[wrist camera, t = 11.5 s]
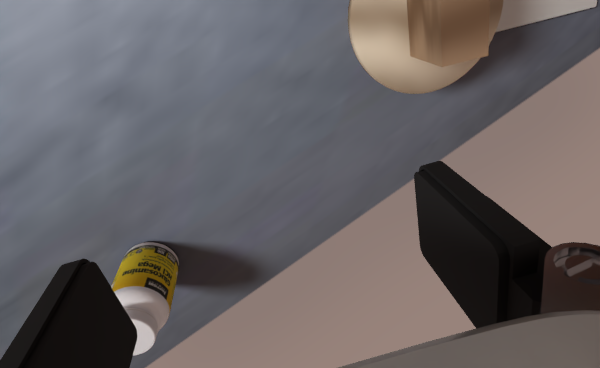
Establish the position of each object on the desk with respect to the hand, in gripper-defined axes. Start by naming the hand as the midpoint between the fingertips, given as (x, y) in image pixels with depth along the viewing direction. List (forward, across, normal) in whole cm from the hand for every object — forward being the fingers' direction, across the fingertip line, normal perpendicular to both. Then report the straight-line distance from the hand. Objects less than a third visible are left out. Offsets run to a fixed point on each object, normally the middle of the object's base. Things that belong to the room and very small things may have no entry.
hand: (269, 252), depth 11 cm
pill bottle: (+29, +16, +18) cm, 37 cm away
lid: (+23, -16, -2) cm, 28 cm away
